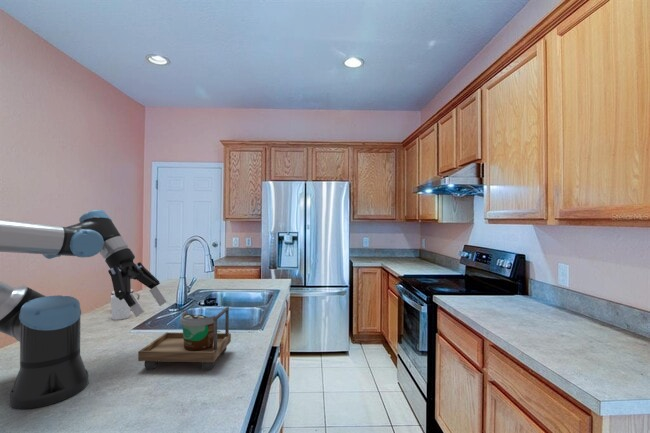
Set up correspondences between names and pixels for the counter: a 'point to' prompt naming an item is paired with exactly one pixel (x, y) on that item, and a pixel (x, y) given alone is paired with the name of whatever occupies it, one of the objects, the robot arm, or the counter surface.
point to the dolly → (173, 349)
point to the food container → (197, 331)
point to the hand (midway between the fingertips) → (153, 308)
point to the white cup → (119, 308)
